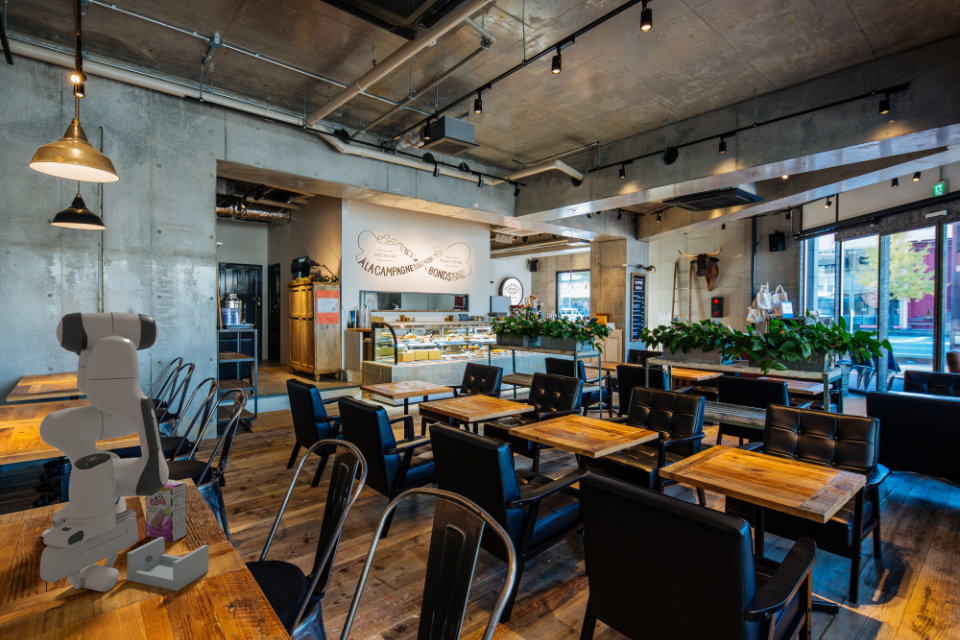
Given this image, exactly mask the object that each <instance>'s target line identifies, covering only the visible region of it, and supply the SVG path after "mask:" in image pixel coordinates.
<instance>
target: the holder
mask: <svg viewBox="0 0 960 640" xmlns="http://www.w3.org/2000/svg"><path fill="white" fill-rule="evenodd" d="M126 557H127V558H126V569H127V570H126V572H127V573H126V575H127V576H126V577H127V579H126V580H127V581H129V582H130V581H131V582H134V583H140V584H143V585H148V586H154V587H158V588H163V589H165V590H166V589H167V590H170V591H171V590H172V591H175V592H178V591H179V590H181V589H183V588H185V587H186V586H187V585H189V584H191V583H193V582H194V581H195V580H197V579H199V578H201V577H202V576H203V575H205V574H206V572H207V573H208V572H209V544H203V545H201V546H200V547H198V548H196V549H194V550H192V551H191V552H189V553H187V554H185V555H183V556H179V555H173V554H167V553H165V541H164V537H159V538H157V539H155V538H154V540H151V541H149V542H147V543H145V544H143V545H141V546H139V547H137V548H135V549H133V550H130V551H129V552H127V553H126ZM204 573H205V574H204ZM201 575H202V576H201ZM198 577H199V578H198ZM196 578H197V579H196Z"/></svg>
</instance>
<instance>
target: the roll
mask: <svg viewBox="0 0 960 640" xmlns="http://www.w3.org/2000/svg"><path fill="white" fill-rule="evenodd" d="M77 576H78V577H79V578H84V579H85V582H84V583H85V585H84V586H83V587H82V588H83V589H89V590H93V591H98V592H102V593H104V592H108V591H110V590H111V589H113V587H114V586H115V585H116V584H117V583H118V581H119V578H120V572H119V570H118V569H117V568H110V567H105V566H104V565H99V564H96V563H94V564H92V565H90V566H88V567H86V568H83V569H81V570H80V574H79V575H77ZM66 577H67V578H66V579H67V582H68V584H69V585H72V586H73V581H72V580H71V579H70V578H69V577H68V576H66Z"/></svg>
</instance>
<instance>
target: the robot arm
mask: <svg viewBox="0 0 960 640" xmlns="http://www.w3.org/2000/svg"><path fill="white" fill-rule="evenodd" d="M158 330H159V329H158V325H157V322H156V320H155V319H154V318H153V317H152V316H151V315H149V314H144V313H143V314H142V313H137V314H135V313H127V312H118V311H117V312H115V311H110V312H85V313H84V312H83V313H82V312H81V311H80V312H71V313H66V314H65V315H63V316H62V317H61V319H60V321H59V323H58V325H57V327H56V332H55V334H56V338H57V341H58V342H59V345H60V347H62V348H63V349H64V350H66V351H68V352H71V353H75V354H76V356H78V361H77V362H78V363H77V375H76V387H77V389H78V390H79V392H80V393H82V394H83V395H85V396H86V398H87V401H89V403H90V404H91V405H82V406H73V407H67V408H63V409H59V410H56V411H53V412H49V413H48V414H47V415H46V416H45V417H44V418H43V419H42V421H40V426H39V435H40V437H41V440H42V441H43V442H44V443H45V444H47V445H48V446H50V447H52V448H55V449H57V450H59V451H60V452H62V454H64V455H65V456H66V457H67V459H68V460H69V462H70V464H71V471H70V475H69V476H70V477H69V482H68V483H69V484H68V491H67V492H68V494H67V495H68V499H69V500H68V502H67V503H66V504H65V505H64V506H62V507H61V508H60V509H59V510H57V512H55V513H54V514H53V517H52V522H51V523H52V527H50V528H47V529H46V530H44V531H43V532H41V537H42V538H43V544H44V545H47V546H45V548H44V549H43V550H42V553H41V557H40V567H39V568H40V569H39V575H40V576H39V577H40V579H41V580H43V581H45V582H49V583H56V582H58V581H59V580H62V579H64V578H66V577H69V578H70V579H71V580H72V581H73V585H72V588H73V589H76V590H78V589H80V588H83V586H84V585H85V583H84V582H85V579H84V578H79V577H78V576H77V575H79V574H80V570H81V569H83V568H86V567H88V566H90V565H92V564H96V563H98V562H100V561H102V560H105V559H106V558H107V559H106V561H105V564H104V565H103V566H105V567H110V568H113V567H114V564H115V563H116V560H117V559H118V554H119V552H121V551H123V550H126V549H127V548H130V547H132V546H134V545H136V544H137V542H138V540H139V531H138V530H139V528H138V524H137V513H136V511H135V510H132V509H127V503H126V502H127V501H126V498H125V497H132V496H137V497H146V496H152V495H154V494H155V493H157V492H158V491H160V490H161V489H162V488H163V487H164V486H165V485H166V484H167V481H168V479H169V474H170V473H169V472H170V470H169V465H168V462H167V458H166V455H165V452H164V446H163V442H162V436H161V430H160V426H159V420H158V414H157V410H156V406H155V403H154V401H153V399H152V398H151V397H150V396H147V395H146V394H145V392H143V390H142V386H141V384H140V379H139V378H140V367H139V366H140V363H139V357H138V351H142V350H147V349H150V348H151V347H153V346H154V345H155V342H156V340H157V338H158V334H159V331H158ZM136 433H137V434H138V441H139V446H140V450H141V456H140V457H130V458H129V457H126V458H121V457H120V456H119V455H117V453H114V452H112V451H107V450H103V449H98V448H97V442H100V441H105V440H112V439H119V438H122V437H128V436H131V435H133V434H136Z"/></svg>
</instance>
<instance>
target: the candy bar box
mask: <svg viewBox="0 0 960 640" xmlns="http://www.w3.org/2000/svg"><path fill="white" fill-rule="evenodd" d="M187 523H188V522H187V482H185V481H179V480H174V479H169V478H168V481H167V484H166V485H165V486H164V487H163V488H162V489H161V490H160V491H158V492H157V493H155V494H154V495H152V496H145V537H147V538H150V539H151V538H152V539H154V540H155V539H157V538H159V537H164V542H169V543H174V541H175V542H177V541H178V539H179V540H180V538H181V539H183V538H185V537H186V536H187V534H188V533H187V529H188V527H187ZM185 535H186V536H185ZM184 536H185V537H184ZM182 537H183V538H182ZM176 540H177V541H176Z"/></svg>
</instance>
